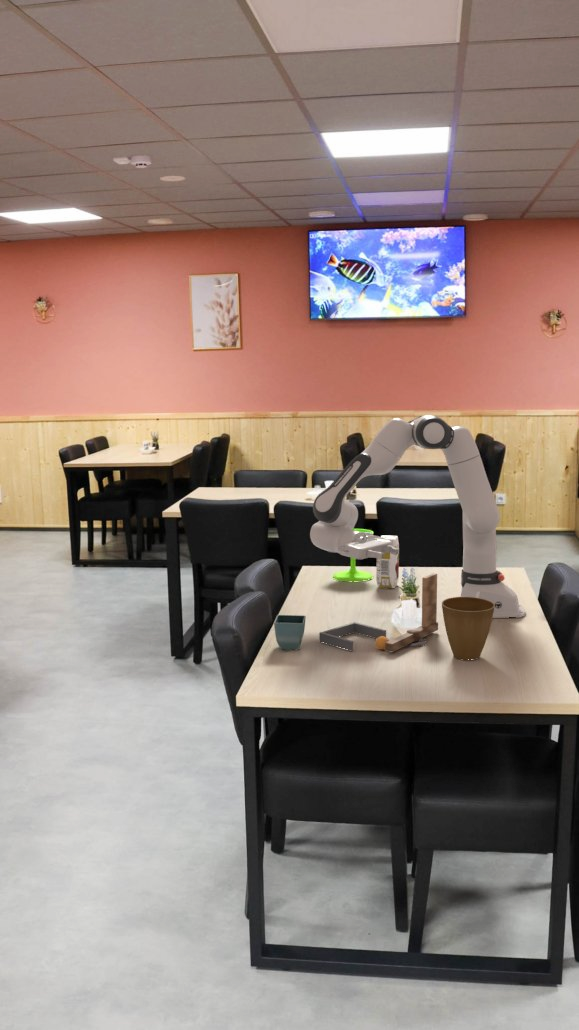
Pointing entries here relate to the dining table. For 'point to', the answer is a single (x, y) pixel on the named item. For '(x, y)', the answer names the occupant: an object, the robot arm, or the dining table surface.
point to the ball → (381, 642)
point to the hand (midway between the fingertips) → (389, 554)
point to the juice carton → (388, 566)
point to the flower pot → (289, 630)
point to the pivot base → (418, 642)
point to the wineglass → (354, 569)
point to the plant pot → (467, 625)
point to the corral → (333, 634)
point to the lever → (427, 616)
